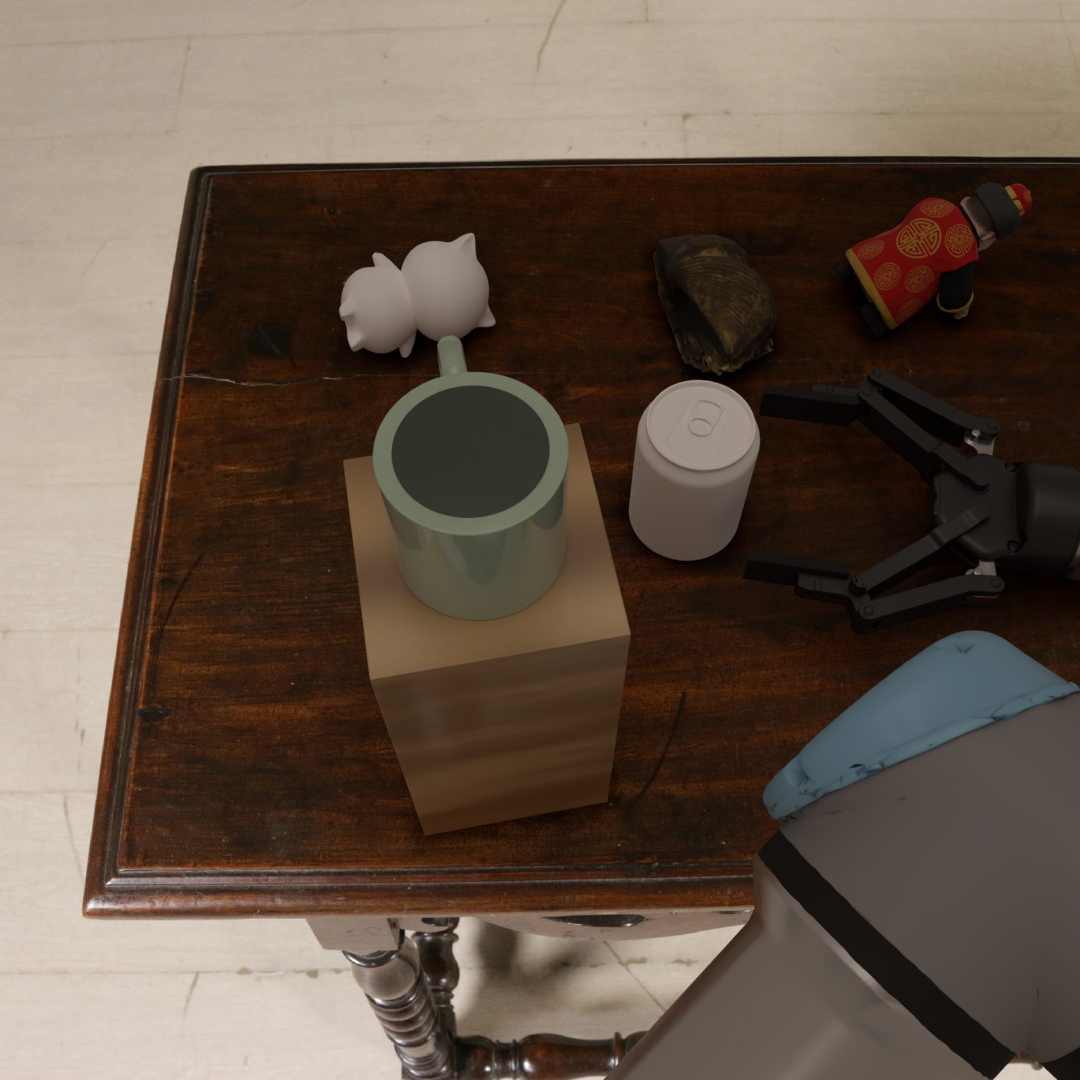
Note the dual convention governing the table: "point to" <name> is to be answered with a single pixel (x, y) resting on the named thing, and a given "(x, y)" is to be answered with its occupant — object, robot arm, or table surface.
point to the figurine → (932, 254)
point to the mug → (474, 490)
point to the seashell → (714, 302)
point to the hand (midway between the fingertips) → (753, 478)
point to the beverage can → (692, 469)
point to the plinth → (497, 673)
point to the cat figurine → (417, 297)
